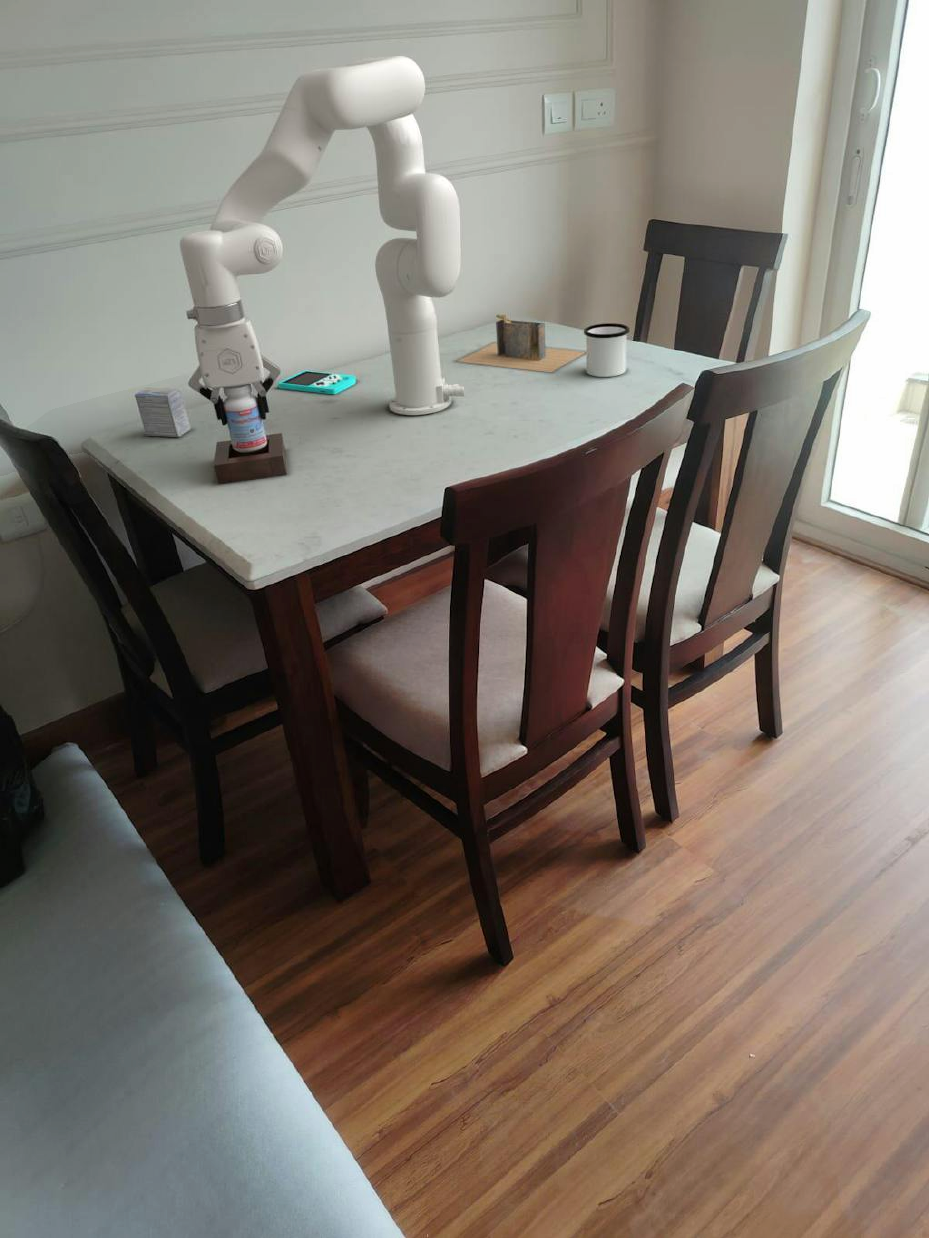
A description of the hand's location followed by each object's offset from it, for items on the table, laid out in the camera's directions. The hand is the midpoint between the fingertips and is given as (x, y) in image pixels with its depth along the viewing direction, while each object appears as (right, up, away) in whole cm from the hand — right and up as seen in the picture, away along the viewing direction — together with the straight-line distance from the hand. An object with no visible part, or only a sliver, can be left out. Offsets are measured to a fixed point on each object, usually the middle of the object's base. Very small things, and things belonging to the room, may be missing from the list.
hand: (244, 419), depth 153 cm
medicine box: (-21, +2, +24) cm, 32 cm away
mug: (+69, +19, +37) cm, 81 cm away
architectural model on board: (+51, +26, +50) cm, 76 cm away
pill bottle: (0, -4, +3) cm, 5 cm away
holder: (0, -8, +5) cm, 9 cm away
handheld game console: (+6, +17, +44) cm, 48 cm away
